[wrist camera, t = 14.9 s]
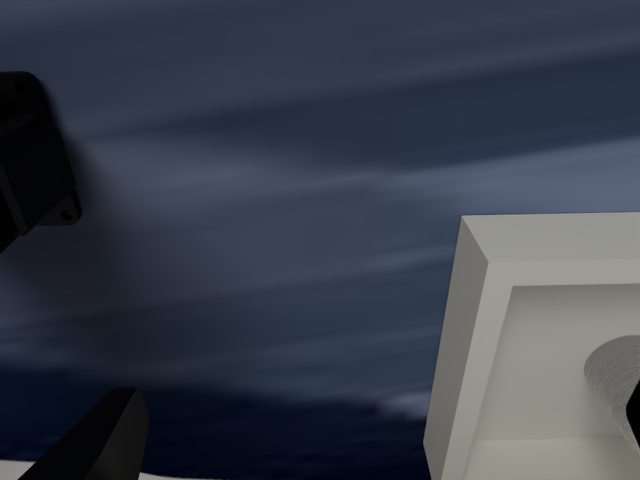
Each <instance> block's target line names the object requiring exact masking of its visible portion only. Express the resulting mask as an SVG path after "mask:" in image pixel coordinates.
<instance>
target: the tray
mask: <svg viewBox="0 0 640 480" xmlns="http://www.w3.org/2000/svg"><path fill="white" fill-rule="evenodd" d="M628 335H640V212H622V213H572V214H522V215H471V216H462V217H461V223H460V228H459V234H458V240H457V246H456V252H455V258H454V264H453V270H452V276H451V281H450V287H449V293H448V299H447V305H446V311H445V317H444V323H443V329H442V334H441V340H440V346H439V352H438V358H437V364H436V370H435V376H434V381H433V387H432V393H431V399H430V405H429V411H428V417H427V423H426V429H425V434H424V440H423V444H424V448H425V453H426V457H427V461H428V466H429V470H430V474H431V479H432V480H640V459H639V458H638V456H637V454H636V453H635V451H634V450H633V448H632V447H631V445H630V444H629V442H628V441H627V439H626V438H625V436H624V435H623V433H622V432H621V430H620V428H619V427H618V425H617V424H616V422H615V421H614V419H613V418H612V416H611V415H610V413H609V412H608V410H607V409H606V407H605V406H604V404H603V402H602V401H601V399H600V398H599V396H598V395H597V393H596V392H595V390H594V389H593V387H592V386H591V384H590V383H589V381H588V380H587V378H586V376H585V374H584V365H585V362H586V360H587V358H588V357H589V356H590V354H591V353H592V352H593V351H594V350H595V349H597V348H598V347H599V346H601V345H602V344H604V343H606V342H608V341H610V340H612V339H615V338H618V337H622V336H628Z"/></svg>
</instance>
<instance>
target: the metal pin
mask: <svg viewBox="0 0 640 480" xmlns="http://www.w3.org/2000/svg"><path fill="white" fill-rule="evenodd" d="M584 374H585V376H586V378H587V380H588V381H589V383H590V384H591V386H592V387H593V389H594V390H595V392H596V393H597V395H598V396H599V398H600V399H601V401H602V402H603V404H604V406H605V407H606V409H607V410H608V412H609V413H610V415H611V416H612V418H613V419H614V421H615V422H616V424H617V425H618V427H619V428H620V430H621V432H622V433H623V435H624V436H625V438H626V439H627V441H628V442H629V444H630V445H631V447H632V448H633V450H634V451H635V453H636V454H637V456H638V458H639V459H640V448H639V446H638V444H637V441H636V439H635V437H634V434H633V432H632V429H631V427H630V425H629V422H628V420H627V416H626V404H627V402H628V400H629V398H630V396H631V394H632V392H633V390H634V388H635V386H636V385H637V383H638V381H639V379H640V335H628V336H622V337H618V338H615V339H612V340H610V341H608V342H606V343H604V344H602V345H601V346H599V347H598V348H597V349H595V350H594V351H593V352H592V353H591V354H590V356H589V357H588V358H587V360H586V362H585V365H584Z"/></svg>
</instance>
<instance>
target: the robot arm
mask: <svg viewBox="0 0 640 480" xmlns="http://www.w3.org/2000/svg"><path fill="white" fill-rule="evenodd" d="M21 81H24V82H25V83H26V84H27V85H28V87H29V91H26V90H24V89H23V88H22V86H21ZM75 185H76V182H75V179H74V176H73V173H72V170H71V167H70V164H69V161H68V157H67V154H66V151H65V148H64V145H63V142H62V139H61V136H60V133H59V130H58V129H57V128H56V127H55V126H54V124H53V121H52V118H51V115H50V112H49V109H48V106H47V103H46V100H45V97H44V93H43V90H42V87H41V84H40V82H39V81H38V79H37V78H36V77H35V76H34V75H32V74H31V73H29V72H24V71H14V72H0V254H1V253H2V252H3V251H4V250H5V249H6V248H7V247H8V246H9V245H10V244H11V243H12V242H13V241H14V240H15V239H16V238H17V237H18V236H24V235H26V234H27V233H28V232H30V231H31V230H32V229H33V228H34V227H35V226H52V225H73V224H75V223H76V222H77V221H78V220H79V219H80V218H81V216H82V210H81V207H80V204H79V201H78V198H77V195H76V192H75V189H74V187H75ZM65 210H67V211H69V212H70V213H71V214H72V216H69V215H68V214H66V212H65ZM626 416H627V420H628V422H629V425H630V427H631V429H632V432H633V434H634V437H635V439H636V441H637V444H638V446H639V448H640V379H639V381H638V383H637V385H636V386H635V388H634V390H633V392H632V394H631V396H630V398H629V400H628V402H627V404H626ZM148 429H149V415H148V412H147V409H146V406H145V402H144V399H143V396H142V393H141V391H140V389H139V388H138V387H135V386H129V387H116V388H114V389H112V390H111V391H110V392H109V393H107V394H106V395H105V396H104V397H103V398H102V399H101V400H100V401H99V402H98V403H97V404H96V405H95V406H94V407H93V408H92V409H91V410H90V411H89V412H88V413H87V414H86V415H85V416H83V417H82V418H81V419H80V420H79V421H78V422H77V423H76V424H75V425H74V426H73V427H72V428H71V429H70V430H69V431H68V432H67V433H66V434H65V435H64V436H63V437H62V438H61V439H59V440H58V441H57V442H56V443H55V444H54V445H53V446H52V447H51V448H50V449H49V450H48V451H47V452H46V453H45V454H44V455H43V456H42V457H41V458H40V459H39V460H38V461H37V462H36V463H34V464H33V465H32V466H31V467H30V468H29V469H28V470H27V471H26V472H25V473H24V474H23V475H22V476H21V477H20V478H19V479H18V480H138V478H139V473H140V468H141V464H142V459H143V454H144V449H145V444H146V439H147V434H148Z"/></svg>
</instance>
